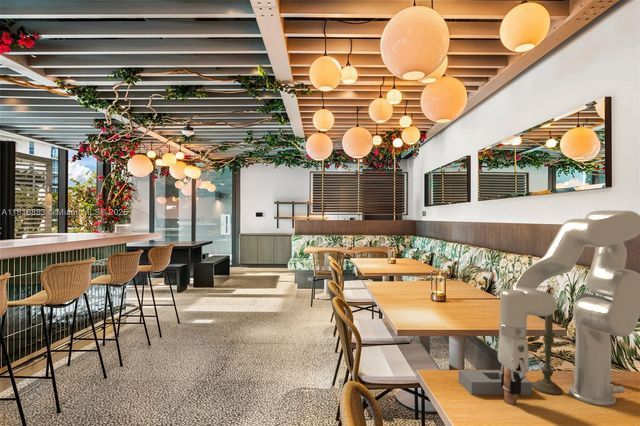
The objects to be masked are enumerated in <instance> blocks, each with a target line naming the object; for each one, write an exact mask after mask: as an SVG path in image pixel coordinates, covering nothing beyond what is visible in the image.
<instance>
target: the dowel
mask: <svg viewBox="0 0 640 426" xmlns="http://www.w3.org/2000/svg"><path fill="white" fill-rule="evenodd" d="M516 370H518V368H516ZM517 374H518V373H515V376H516V375H517ZM510 380H512V379H511V370H510V369H508V368H507V367H506V366H504V385H503V388H504V389H505V393H504V398H503V401H504V404H508V405H512V406H516V405H517V402H518V401H517V396H518V395H517V394H510Z"/></svg>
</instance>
